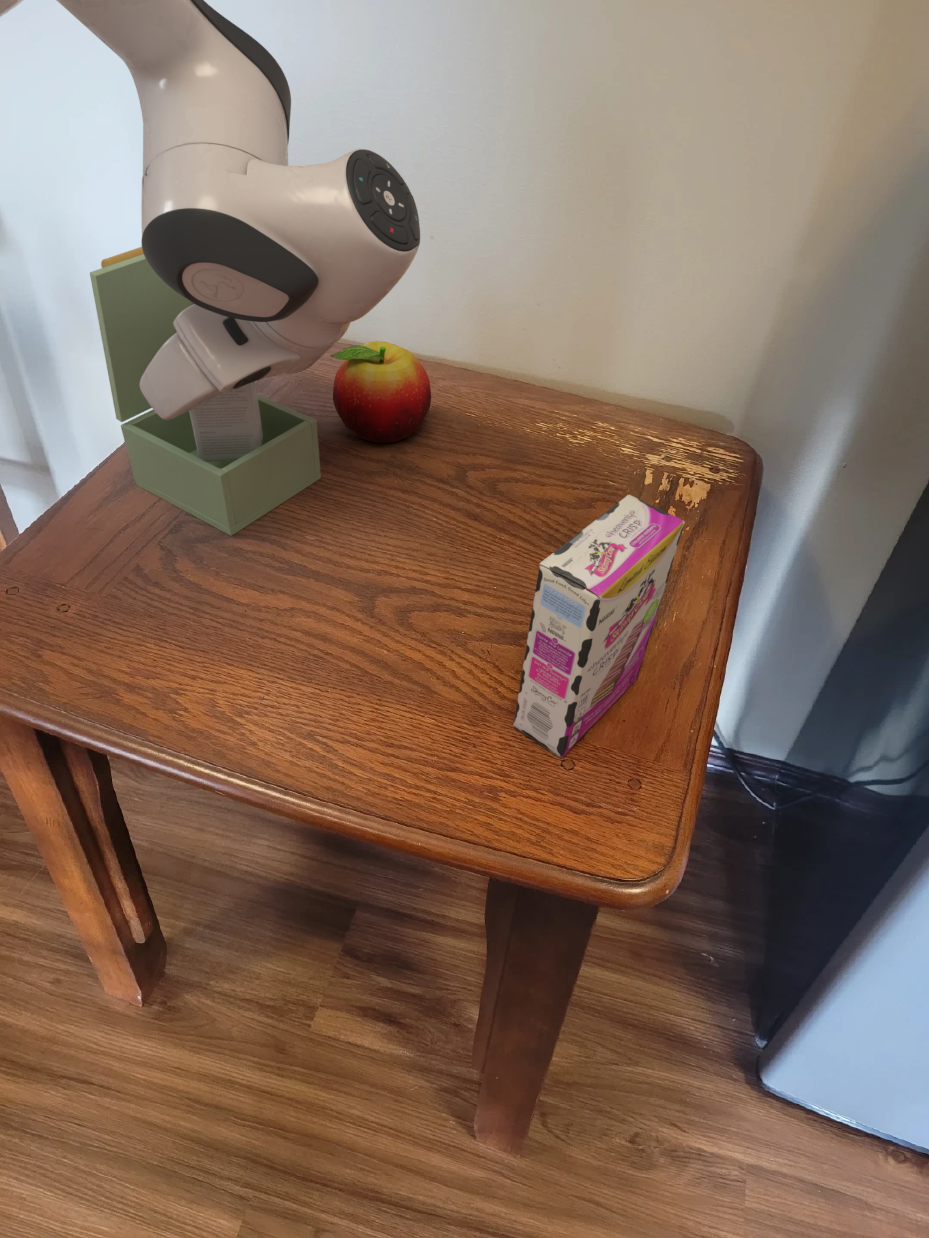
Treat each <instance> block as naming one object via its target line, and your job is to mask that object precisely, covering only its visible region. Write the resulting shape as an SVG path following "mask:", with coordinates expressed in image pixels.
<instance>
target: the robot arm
mask: <svg viewBox="0 0 929 1238" xmlns="http://www.w3.org/2000/svg"><path fill="white" fill-rule="evenodd" d="M22 2H24V0H0V18H2V17H3V16H5V15H7V14H8V13H9V12H11V11H12V10H13V9H15V8H16V7H18V6H19V5H20V4H21V3H22ZM56 2H57V3H59V5H61V6H62V7H63V8H64V9H66V11H68V12H69V13H70V14H71V15H72V16H73V17H74V18H75V19H76V20H78V21H79V22H80V23H81V24H82V25H83V26H85V27H86V29H88V30H89V31H90V32H91V33H92V34H93V35H94V36H95V37H97V38H98V39H99V40H100V41H101V42H102V43H103V44H104V45H105V46H106V47H107V48H109V50H110V51H112V52H113V53H114V54H116V55H117V56H118V57H119V58H120V59H121V61H123V63H124V64H125V66H126V67H127V69H128V70H129V73H130V75H131V78H132V80H133V83H134V86H135V89H136V92H137V97H138V101H139V106H140V111H141V117H142V177H141V205H140V207H141V247H142V250H143V253H144V256H145V258H146V260H147V262H148V263H149V265H150V266H151V267H152V269H153V270H154V271H155V272H156V274H157V275H158V276H159V277H160V278H161V279H162V280H163V281H164V282H165V283H166V284H167V285H168V286H169V287H171V288H172V289H173V290H174V291H176V292H177V293H179V294H180V295H182V296H183V297H185V298H186V299H188V300H189V301H191V302H193V304H192V305H191V306H189V307H188V308H186V309H184V310H183V311H181V312H180V313H179V315H178V316H177V317H176V318H175V320H174V322H173V325H174V327H175V329H176V331H177V332H176V333H175V334H174V335H173V336H171V337H170V338H169V339H168V340H167V341H166V342H165V343H164V344H163V345H162V347H161V348H160V349H159V351H158V352H157V353H156V355H155V356H154V358H153V359H152V361H151V362H150V364H149V365H148V367H147V369H146V370H145V372H144V374H143V375H142V377H141V380H140V383H139V385H140V389H141V391H142V393H143V395H144V397H145V398H146V400H147V401H148V403H149V404H150V406H151V407H152V408H151V409H152V410H153V409H154V411H155V412H156V413H157V414H158V415H159V416H160V417H161V418H162V419H164V420H172V419H175V418H176V417H178V416H180V415H182V414H184V413H186V412H188V411H190V410H192V409H194V408H196V407H198V406H199V405H201V404H203V403H205V402H207V401H209V400H211V399H213V398H215V397H217V396H219V395H221V394H223V393H226V392H228V391H231V390H233V389H237V388H239V387H242V386H244V385H246V384H249V383H252V382H255V383H256V382H257V381H260V380H263V379H267V378H272V377H273V378H275V377H278V376H282V375H284V374H286V375H287V374H288V375H289V374H298V373H301V372H304V371H306V370H308V369H309V368H311V367H312V366H313V365H314V364H315V363H316V362H317V361H319V360H320V359H321V358H322V357H323V356H324V355H326V353H327V352H328V351H329V350H330V349H332V347H333V346H334V345H335V344H337V343H338V342H339V341H340V340H341V339H342V338H343V337H344V335H345V334H346V333H347V331H348V329H349V328H350V325H351V323H352V322H355V321H358V320H360V319H362V318H363V317H365V316H367V314H368V313H370V312H371V311H372V310H373V309H374V308H375V307H377V306H378V304H379V303H380V302H381V301H382V300H383V299H384V298H385V297H387V295H388V294H389V293H390V292H391V291H392V290H393V289H394V287H396V285H397V284H398V283H399V282H400V281H401V280H402V278H403V277H404V275H405V274H406V273H407V271H408V269H409V268H410V267H411V265H412V263H413V261H414V259H415V257H416V255H417V253H418V250H419V248H420V244H421V228H420V227H421V226H420V218H419V212H418V207H417V204H416V201H415V197H414V195H413V194H412V192H411V190H410V188H409V186H408V184H407V183H406V181H405V179H404V178H403V176H402V175H401V174H400V173H399V171H398V170H397V169H396V168H395V167H394V166H393V165H392V164H391V163H390V161H388V160H387V159H385V157H384V156H381V155H380V154H379V153H377V152H375V151H372V150H370V149H365V148H356V149H352V150H351V151H348V152H346V153H345V154H343V155H342V156H339V157H337V158H336V159H334V160H331V161H327V162H322V163H316V164H307V165H289V141H290V129H291V128H290V125H291V115H292V114H291V113H292V112H291V111H292V95H291V89H290V85H289V82H288V80H287V77H286V75H285V72H284V71H283V69H282V68H281V66H280V64H279V62H278V61H277V60H276V58H274V56H273V55H272V54H271V53H270V52H269V51H268V49H266V48H265V46H263V45H262V44H261V43H260V42H259V41H258V40H257V39H255V38H254V37H253V36H251V35H250V34H248V33H247V31H245V30H243V29H242V28H240V27H239V26H237V25H236V24H234V23H233V22H231V20H229V19H227V17H225V16H224V15H222V14H221V13H219V12H218V11H217V10H216V9H214V8H213V7H212V6H211V5H209V3H208V2H207V1H205V0H56Z"/></svg>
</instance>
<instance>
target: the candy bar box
mask: <svg viewBox="0 0 929 1238" xmlns="http://www.w3.org/2000/svg"><path fill="white" fill-rule="evenodd" d="M685 524H686V522H685V520H683V519H681V518H680V517H678V516H675V515H673V514H671V513H669V512H667V511H665V510H663V509H660V508H658V507H656V506H654V505H651V504H649V503H647V502H646V501H644V500H642V499H639V498H638V497H635V496H633V495H631V494H627V495H626V496H625V497H623V498H622V499H621V500H619V501H618V502H617V503H616V504H614V505H612V507H610V508H609V509H608V510H607V511H605V512H604V513H603V514H602V515H600V516H598V518H596V519H595V520H593V521H592V522H591V523H590V524H588V525H587V526H586V527H585V528H583V529H582V530H580V531H579V532H578V533H576V535H574V536H572V537H571V538H570V539H569V540H568V541H566V542H565V543H564V544H562V545H561V546H559V548H557V549H556V550H554V551H553V552H552V553H550V555H548V556H547V557H545V559H543V560H542V561H541V562H539V564H538V572H537V579H536V585H535V590H534V597H533V602H532V609H531V615H530V616H531V617H530V621H529V627H528V634H527V639H526V647H525V655H524V658H523V664H522V671H521V677H520V684H519V690H518V694H517V701H516V706H515V713H514V718H513V719H514V720H513V724H512V726H513V727H514V728H515V729H516V730H518V732H519V731H520V733H522V734H523V735H525V736H527V737H528V738H530V739H531V740H533V741H534V742H536V743H537V744H539V745H540V746H541V747H543V748H544V749H546V750H547V751H548V752H550V753H551V754H553V755H554V756H556V757H558V758H559V759H563V758H564V757H565V756H566V755H567V754H568V753H569V752H571V750H572V749H573V748H574V747H575V745H576V744H577V743H578V742H579V741H580V740H581V739H582V738H583V737H584V736H585V735H586V734H587V733H588V732H589V731H590V730H591V729H592V727H593V726H594V725H596V723H597V722H598V721H599V720H600V719H601V718H602V717H603V716H604V715H605V714H606V713H607V712H608V711H609V710H610V709H611V708H612V707H613V706H614V704H616V703H617V701H618V700H619V699H620V698H621V697H622V696H623V695H624V694H626V692H627V691H628V690H629V689H630V688H631V687H632V686H633V685H634V684H635V683H636V682H637V680H638V679H639V675H640V672H641V668H642V666H643V662H644V659H645V655H646V652H647V649H648V645H649V642H650V639H651V635H652V632H653V628H654V624H655V622H656V618H657V615H658V611H659V608H660V604H661V602H662V598H663V595H664V592H665V590H666V586H667V583H668V579H669V575H670V572H671V570H672V566H673V563H674V559H675V556H676V552H677V549H678V545H679V543H680V540H681V535H682V533H683V530H684V526H685Z"/></svg>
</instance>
